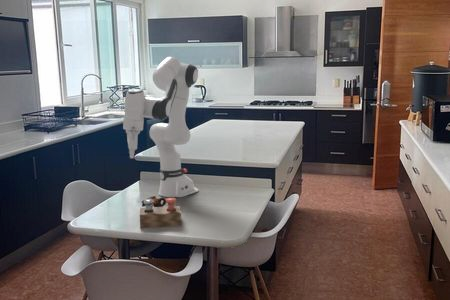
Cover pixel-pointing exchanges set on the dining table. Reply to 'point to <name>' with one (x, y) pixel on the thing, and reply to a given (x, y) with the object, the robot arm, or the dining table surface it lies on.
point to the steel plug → (148, 204)
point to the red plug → (171, 203)
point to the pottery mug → (156, 202)
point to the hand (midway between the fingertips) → (131, 155)
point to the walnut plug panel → (160, 217)
